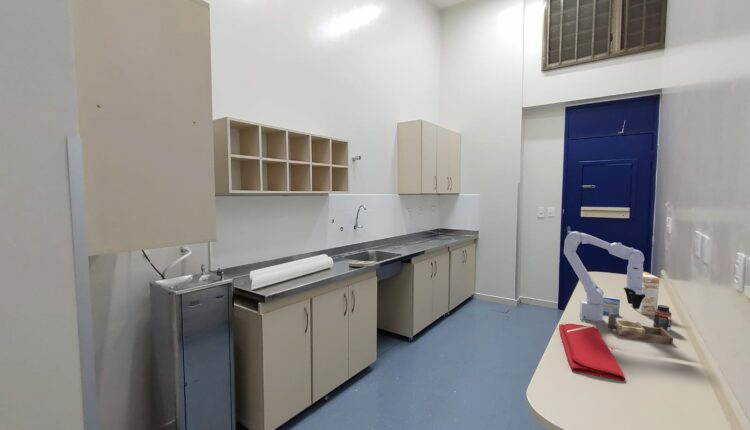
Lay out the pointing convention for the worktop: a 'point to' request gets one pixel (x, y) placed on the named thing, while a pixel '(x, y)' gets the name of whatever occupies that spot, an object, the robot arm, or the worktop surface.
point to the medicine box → (611, 305)
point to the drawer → (624, 325)
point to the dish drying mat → (589, 352)
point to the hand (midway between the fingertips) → (633, 306)
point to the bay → (664, 339)
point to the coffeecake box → (649, 294)
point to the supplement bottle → (662, 317)
